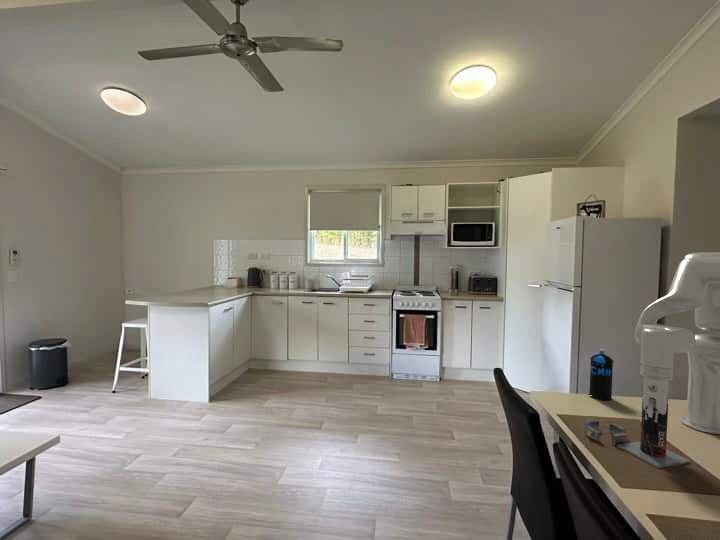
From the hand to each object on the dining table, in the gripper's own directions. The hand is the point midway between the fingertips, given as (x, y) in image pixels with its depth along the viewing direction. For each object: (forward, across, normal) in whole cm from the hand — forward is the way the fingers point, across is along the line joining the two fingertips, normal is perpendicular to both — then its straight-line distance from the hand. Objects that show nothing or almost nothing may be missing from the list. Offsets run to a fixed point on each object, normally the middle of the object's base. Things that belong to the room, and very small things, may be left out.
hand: (653, 428), depth 109 cm
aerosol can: (+8, +42, +22) cm, 48 cm away
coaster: (+8, 0, 0) cm, 8 cm away
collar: (+8, +2, +12) cm, 15 cm away
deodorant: (+7, 0, 0) cm, 7 cm away
